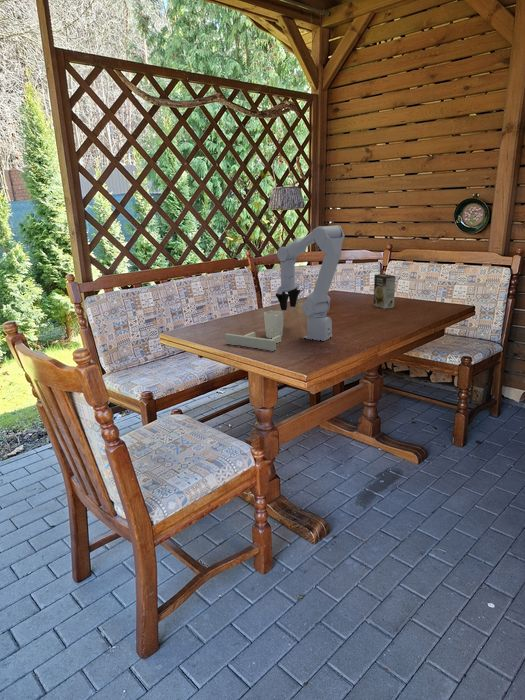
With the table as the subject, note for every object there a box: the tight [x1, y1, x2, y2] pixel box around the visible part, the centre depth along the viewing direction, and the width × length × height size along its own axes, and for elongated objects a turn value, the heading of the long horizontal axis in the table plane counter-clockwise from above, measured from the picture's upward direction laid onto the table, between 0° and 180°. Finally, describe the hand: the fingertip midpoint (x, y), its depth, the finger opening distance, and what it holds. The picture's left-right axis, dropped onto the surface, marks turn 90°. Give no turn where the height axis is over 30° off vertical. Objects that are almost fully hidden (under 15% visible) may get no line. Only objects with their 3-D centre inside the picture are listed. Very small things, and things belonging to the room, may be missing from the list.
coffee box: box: [373, 273, 396, 310], centre depth 238 cm, size 9×6×16 cm
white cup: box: [263, 310, 284, 339], centre depth 191 cm, size 8×8×10 cm
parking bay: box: [224, 331, 282, 352], centre depth 182 cm, size 22×13×4 cm, turn 57°
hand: (288, 308), depth 199 cm, fingers open, 7 cm apart
